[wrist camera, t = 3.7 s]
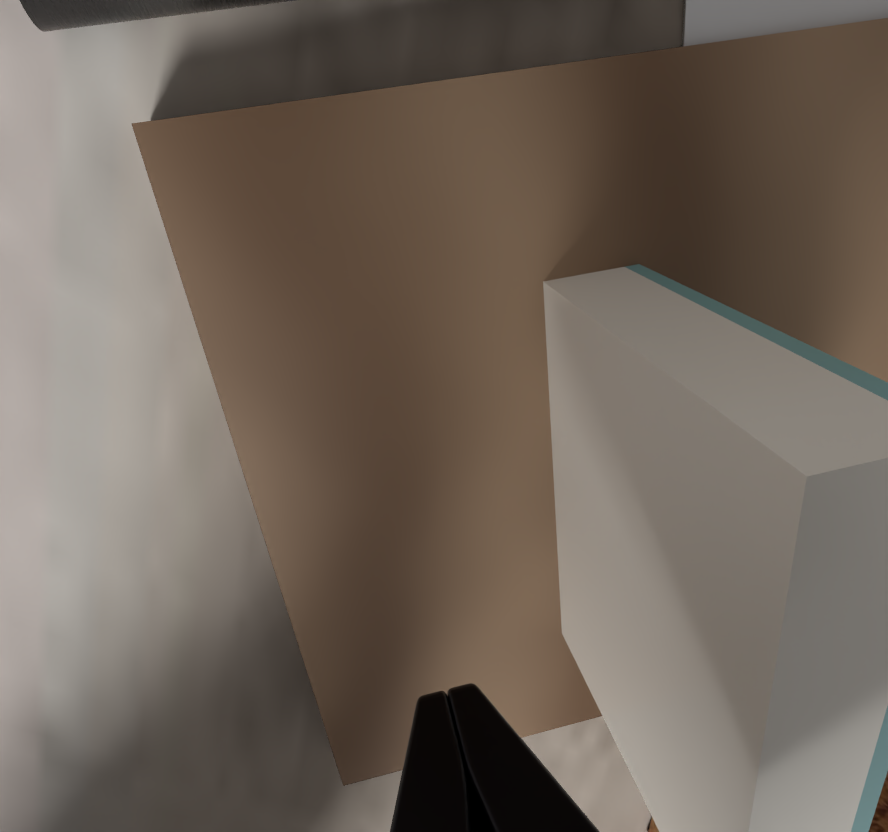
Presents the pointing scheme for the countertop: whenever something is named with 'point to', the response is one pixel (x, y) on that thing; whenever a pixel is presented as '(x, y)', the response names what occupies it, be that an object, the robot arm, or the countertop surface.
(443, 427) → the board
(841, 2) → the turner
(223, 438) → the countertop surface
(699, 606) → the tile
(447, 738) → the robot arm
